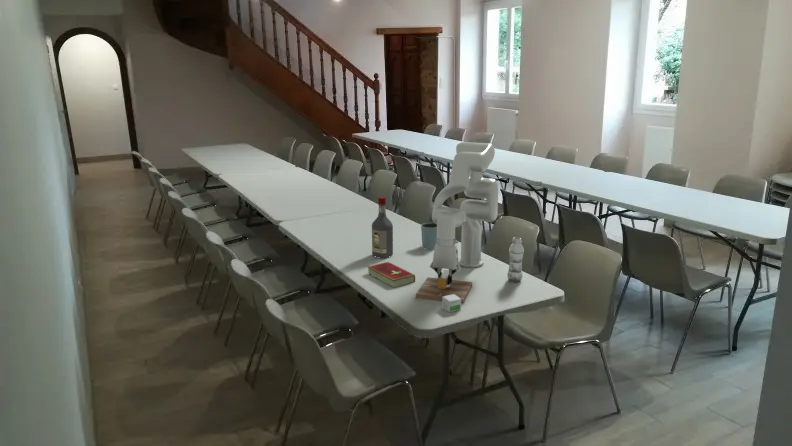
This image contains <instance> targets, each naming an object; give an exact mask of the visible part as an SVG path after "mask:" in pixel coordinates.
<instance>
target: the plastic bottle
mask: <svg viewBox="0 0 792 446" xmlns="http://www.w3.org/2000/svg"><path fill="white" fill-rule="evenodd" d="M511 241H512V244H510V246H509V248H508V253H509V265H508V271H507V279H508V281H510V282H514V283H515V282H521V281H522V279H523V258H524V253H525V248H524V245H523V244H522V237H519V236H514V237H512V240H511Z"/></svg>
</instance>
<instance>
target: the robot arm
mask: <svg viewBox="0 0 792 446" xmlns="http://www.w3.org/2000/svg"><path fill="white" fill-rule="evenodd" d="M455 151H456V154H455V156H454V158H453V163H452V166H451V172H450V175H449V182H448V184H447V185H446V186H444V187H443V188H442V189H441V190H440V192H439V193H438V194H437V195H436V197H435V199H434V201H433V206H432V207H433V208H432V210H431V220H432V223H435V224H437V243H436V244H435V248H434V249H433V256H432V261H431V263H430V265H429V268H430V269H432V270H434V271H435V273H436V274H437V278H439V277H440V276H441V274H442V273H443V269H444V270H448V271H449V275H448V285H450V283H452V280H453V276H454V274H455V273H457V272H460V271H461V269H462V267H464V268H478V267H479V268H480V267H482V266H483V265H484V264H485V261H484V260H483V259H482V257H481V256H482V232H483V231H482V230H483V229H482V226H481V223H480V222H494V221H496V220H497V218H498V211H499V184H498V181H497V180H496V179H494V178H487V177H484V176H483V172H486V171H487V169H488V168H489V166H490V165H491V164H492V162H493V160H494V158H495V153H496V152H495V151H496V150H495V147H494V145H493V144H491V143H485V142H472V141H471V142H470V141H464V142H459V143H457V144H456V146H455ZM460 193H464V195H465V196H466V197H468V198H475V199H464V200H463V201H462V202H461V203H460V207H459V208H454V207H444V206H443V204H444V202H446V200H447V199H448V198H450V197H453V196H455V195H457V194H460ZM480 199H485V200H480ZM479 221H480V222H479ZM459 227H461V237H460V238H461V239H460V241H461V242H460V244H461V245H460V258H459V251H458V250H459V249H458V246H457V244H459V239H456V229H457V228H459Z"/></svg>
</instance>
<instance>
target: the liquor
mask: <svg viewBox="0 0 792 446" xmlns="http://www.w3.org/2000/svg"><path fill="white" fill-rule="evenodd" d="M386 199H387V198H386V196H379V197H377V200H378V214H377V216H376V218H375V219H374V221H373V222H372V224H371V254H372V257H374V256H376V257H375V258H377V257H380V258H379V259H381V258H384V259H387V257H388V258H390V257H393V255H394V243H393V242H394V226H393V222H392V221H391V220H390V219H389V217H388V216H387V213H386V211H387V210H386V204H387V203H386V202H387V201H386ZM389 256H390V257H389Z"/></svg>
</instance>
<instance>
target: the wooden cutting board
mask: <svg viewBox="0 0 792 446" xmlns="http://www.w3.org/2000/svg"><path fill="white" fill-rule="evenodd" d="M472 287H473V281H465V280H457V279H456V280H455V279H452V283H450V288H449V289H440V288H438V277H429V276H427V277H426V279H425V280H424V282H423V283H422V285H420V287H419V289H418V290H417V292H416V293H415V299H418V300H419V299H420V300H427V301H428V300H429V301H436V302H442V296H447V295H452V294H455V295H456V296H458V297H459V298H460V299H461V305H464V304H465V302H466V299H467V297H468V296H469V293H470V292H471V289H472Z"/></svg>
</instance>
